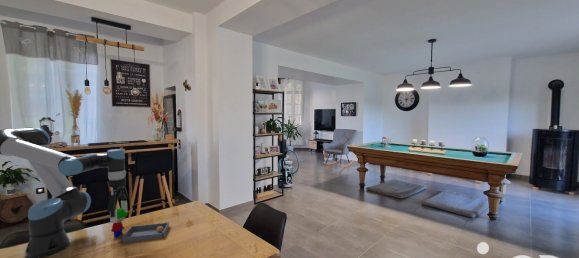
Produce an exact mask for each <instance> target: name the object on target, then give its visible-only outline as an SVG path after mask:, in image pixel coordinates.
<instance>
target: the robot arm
mask: <svg viewBox="0 0 579 258" xmlns="http://www.w3.org/2000/svg"><path fill="white" fill-rule="evenodd" d="M50 142H51V138H50V134H49V133H48V132H47V131H46V130H45V129H43V128H40V127H33V126H32V127H21V128H3V129H0V155H1V156H5V157H12V156H14V157H17V158H20V159H24V160H27V161H28V162H29V164H30V166H31V167H32V168H33V170H34V171H35V172H36V174H37V175H38V177H39V178H40V180H41V181H42V183H43V184H44V186H45V187H46V189H47V190H48V191H49V193H50V194H51V198H48V199H47V198H46V200H44V199H43V200H40V201H37V202H35V203H34V204H32V205H30V207H29V209H28V214H27V218H28V227H29V240H28V242H27V245H26V248H25V255H24V256H25V257H26V258H27V257H28V258H37V257H40V258H45V257H47V256H51V255H55V254H56V253H59V252H61V251H63V250H65V249H66V248H68V247H69V245H70V238H69V236H68V234H67V233H66V231H65V226H64V222H66V221H68V220H70V219H72V218H74V217H77V216H79V215H81V214H83V213H85V212H86V211H87V210H89V208H90V206H91V204H92V198H91V195H90V194H89V193H88V192H86V191H81V190H80V189H79V187H76V186H73V185H72V184H71V183H70V181H69V179H68V178H67V176H68V177H69V176H75V175H79V174H80V173H84V172H88V171H92V170H95V169H102V168H103V169H104V168H106V169H107V178H108V179H109V180H108V187H109V188H112V190H110V191H109V193H108V194H109V197H108V204H107V210H106V211H107V212H109V220H110V224H113V223H117V210H116V209H117V205H118V201H119V199H120V208H121V209H124V210H125V212H127V213H128V201H129V199H130V198H129V194H128V190H127V188H126V185H127V178H126V174H127V171H126V163H125V162H126V156H125V150H124V149H120V148H115V149H108V150H107V151H106V153H96V152H95V153H94V152H93V153H87V154H85V155H83V156H78V157H77V156H74V155H70V154H67V153H63V152H61V151H58V150H54V149H51V148H50V145H49V144H50ZM44 256H45V257H44Z"/></svg>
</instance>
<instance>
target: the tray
mask: <svg viewBox="0 0 579 258" xmlns="http://www.w3.org/2000/svg"><path fill="white" fill-rule="evenodd" d="M159 226H162V227H163V228H164V230H163V232H161V233H158V232H157V231H156V229H157V228H158V227H159ZM169 227H170V222H159V223H151V224H150V223H148V224H141V225H133V226H130V227H129V229H127V231H126V232H125V233H124V234H123V236H122V237H121V244H125V243H132V242H141V241H149V240H157V239H164V237H165V236H166V234H167V231H168V229H169Z"/></svg>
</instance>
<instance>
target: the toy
mask: <svg viewBox="0 0 579 258" xmlns="http://www.w3.org/2000/svg"><path fill="white" fill-rule="evenodd" d="M116 210H117V223H112V226H111V230H110V231H111V232H113V238H114V239H118V238H120V236H121V235H123V230H124V229H125V227H124V225H123V221H124V220H125V218H126V217H127V216H128V211H127V212H125V210H124V209H121V207H120V208H116Z"/></svg>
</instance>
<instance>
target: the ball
mask: <svg viewBox="0 0 579 258" xmlns="http://www.w3.org/2000/svg"><path fill="white" fill-rule="evenodd" d="M163 230H164V228H163V227H162V226H159V227H158V228H157V229H156V231H157V232H158V233H161V232H163Z"/></svg>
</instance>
